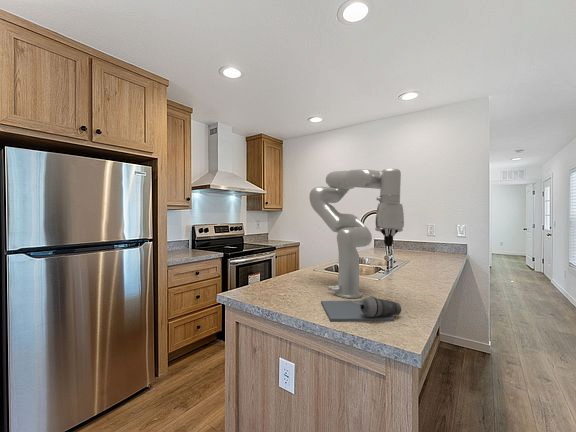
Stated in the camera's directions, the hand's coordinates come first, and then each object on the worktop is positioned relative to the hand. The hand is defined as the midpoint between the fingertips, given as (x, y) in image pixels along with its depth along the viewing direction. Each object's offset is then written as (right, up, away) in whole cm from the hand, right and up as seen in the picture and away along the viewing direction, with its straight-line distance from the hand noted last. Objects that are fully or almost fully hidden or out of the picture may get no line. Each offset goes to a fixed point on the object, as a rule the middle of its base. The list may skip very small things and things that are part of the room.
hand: (388, 245), depth 111 cm
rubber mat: (-14, -25, -3) cm, 29 cm away
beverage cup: (+1, -23, -7) cm, 24 cm away
